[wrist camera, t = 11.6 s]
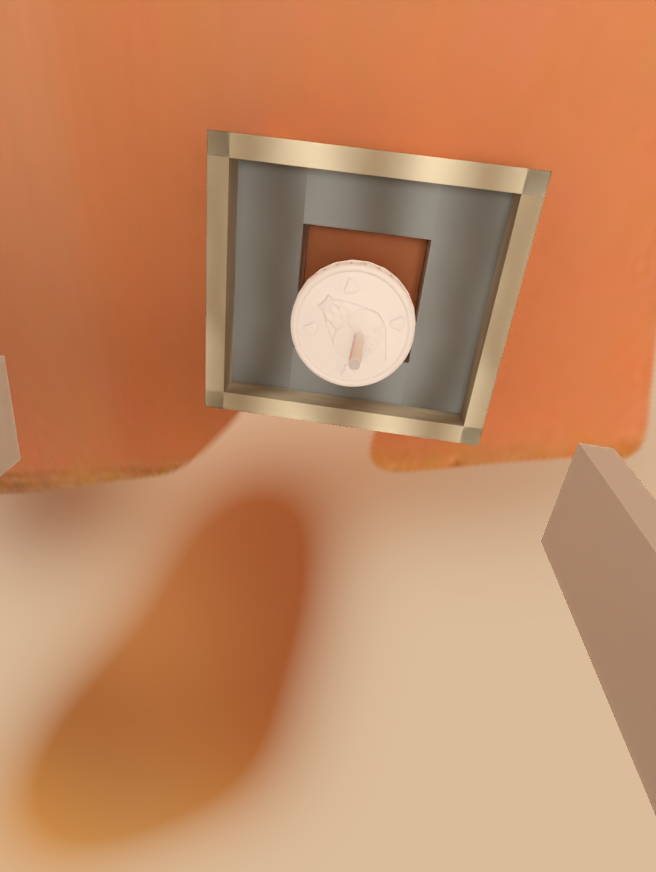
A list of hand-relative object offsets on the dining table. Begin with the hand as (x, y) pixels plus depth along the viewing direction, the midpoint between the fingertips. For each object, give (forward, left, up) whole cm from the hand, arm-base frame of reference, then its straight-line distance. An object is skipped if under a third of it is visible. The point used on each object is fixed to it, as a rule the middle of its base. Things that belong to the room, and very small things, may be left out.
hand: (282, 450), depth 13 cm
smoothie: (+1, -1, -26) cm, 26 cm away
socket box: (+1, -1, -25) cm, 25 cm away
